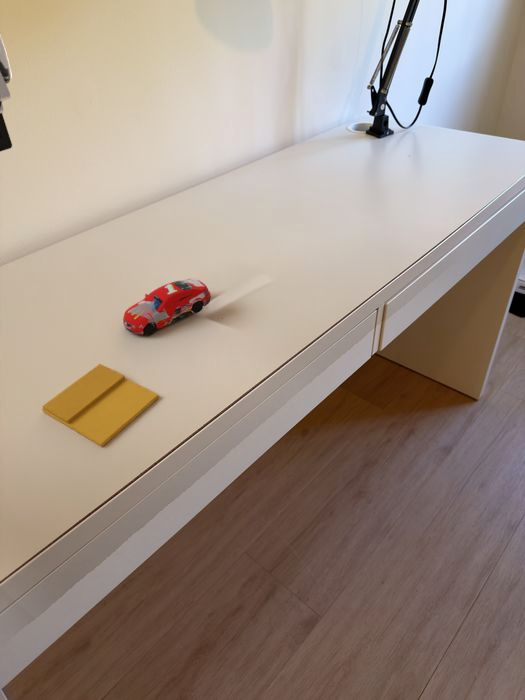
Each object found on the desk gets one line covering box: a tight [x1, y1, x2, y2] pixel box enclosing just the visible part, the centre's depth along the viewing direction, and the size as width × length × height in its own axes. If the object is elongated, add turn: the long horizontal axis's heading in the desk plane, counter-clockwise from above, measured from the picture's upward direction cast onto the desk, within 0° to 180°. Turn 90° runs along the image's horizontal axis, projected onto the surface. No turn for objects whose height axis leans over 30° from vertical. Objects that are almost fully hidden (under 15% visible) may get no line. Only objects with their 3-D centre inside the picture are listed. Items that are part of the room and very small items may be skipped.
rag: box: [41, 363, 160, 448], centre depth 61 cm, size 9×10×1 cm
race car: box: [122, 278, 212, 336], centre depth 74 cm, size 13×5×4 cm, turn 127°
